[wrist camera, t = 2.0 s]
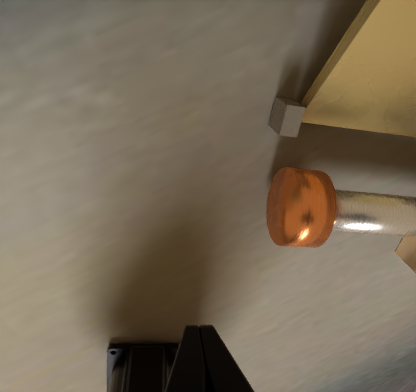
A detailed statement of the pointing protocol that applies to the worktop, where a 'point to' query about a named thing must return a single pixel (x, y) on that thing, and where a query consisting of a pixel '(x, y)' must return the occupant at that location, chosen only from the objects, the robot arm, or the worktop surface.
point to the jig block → (408, 251)
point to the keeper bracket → (286, 117)
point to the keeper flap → (370, 73)
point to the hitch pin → (331, 210)
